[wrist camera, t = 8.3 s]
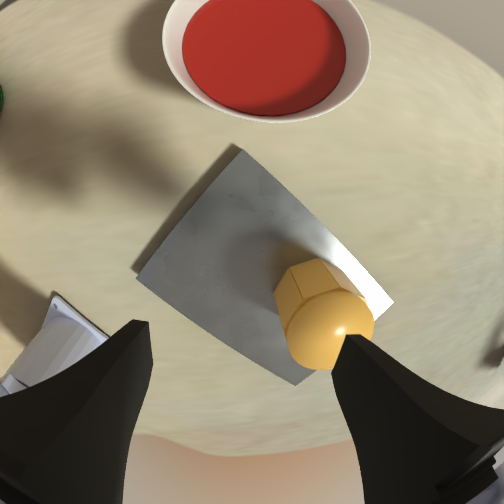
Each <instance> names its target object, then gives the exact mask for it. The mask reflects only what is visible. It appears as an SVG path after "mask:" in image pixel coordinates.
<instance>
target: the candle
mask: <svg viewBox="0 0 504 504" xmlns="http://www.w3.org/2000/svg"><path fill="white" fill-rule="evenodd" d="M162 45H163V51H164V55H165V58H166V61H167V64H168V66H169V68H170V70H171V71H172V73H173V75H174V76H175V78H176V79H177V80H178V81H179V83H180V84H181V85H182V86H183V87H184V88H185V89H186V90H187V91H188V92H189V93H190V94H192V95H193V96H194V97H195V98H197V99H198V100H200V101H201V102H203V103H204V104H206V105H208V106H210V107H212V108H213V109H216V110H218V111H220V112H222V113H225V114H228V115H230V116H233V117H237V118H241V119H245V120H250V121H256V122H265V123H287V122H296V121H302V120H307V119H311V118H314V117H317V116H320V115H322V114H325V113H327V112H329V111H331V110H333V109H335V108H337V107H338V106H340V105H341V104H343V103H344V102H345V101H346V100H348V99H349V98H350V97H351V96H352V95H353V94H354V93H355V92H356V90H357V89H358V88H359V87H360V85H361V84H362V82H363V80H364V78H365V76H366V74H367V71H368V68H369V64H370V58H371V44H370V37H369V33H368V30H367V27H366V24H365V22H364V20H363V18H362V16H361V14H360V13H359V11H358V10H357V8H356V7H355V5H354V4H353V3H352V2H351V1H350V0H175V1H174V2H173V4H172V6H171V7H170V9H169V11H168V13H167V16H166V18H165V22H164V26H163V32H162Z"/></svg>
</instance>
